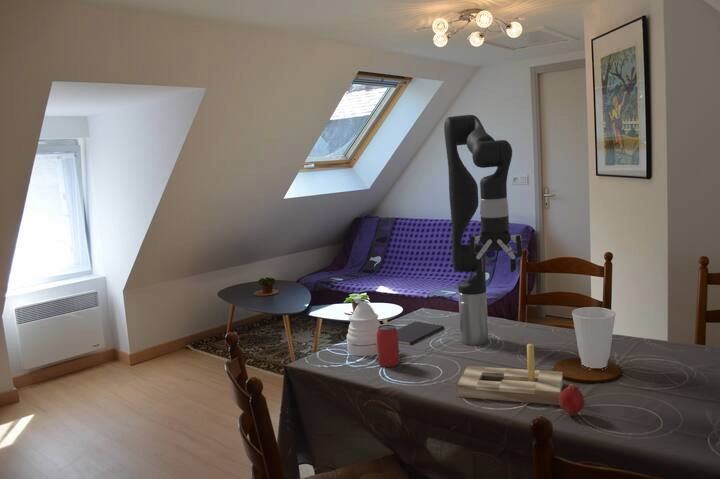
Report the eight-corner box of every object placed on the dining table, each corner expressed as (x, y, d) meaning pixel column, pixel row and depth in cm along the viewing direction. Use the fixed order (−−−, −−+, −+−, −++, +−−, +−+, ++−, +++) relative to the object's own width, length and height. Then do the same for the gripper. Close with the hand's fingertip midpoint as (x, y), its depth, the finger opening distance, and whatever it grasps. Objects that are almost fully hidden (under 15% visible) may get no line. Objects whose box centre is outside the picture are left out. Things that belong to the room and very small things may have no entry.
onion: (555, 411, 151) (554, 380, 150) (578, 409, 151) (577, 378, 150) (565, 421, 145) (564, 389, 144) (588, 419, 146) (588, 387, 145)
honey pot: (341, 355, 204) (337, 302, 201) (355, 342, 216) (351, 292, 213) (378, 357, 199) (374, 303, 197) (390, 344, 211) (386, 293, 209)
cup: (622, 363, 179) (622, 310, 177) (606, 376, 171) (606, 320, 168) (582, 356, 187) (581, 305, 185) (565, 367, 179) (564, 314, 176)
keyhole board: (467, 377, 177) (467, 366, 176) (562, 383, 167) (562, 371, 167) (457, 396, 164) (457, 384, 163) (560, 404, 155) (559, 392, 154)
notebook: (410, 346, 209) (444, 329, 225) (410, 342, 209) (443, 325, 225) (381, 341, 217) (415, 325, 233) (380, 336, 217) (415, 321, 233)
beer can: (398, 367, 188) (395, 330, 187) (377, 367, 190) (374, 330, 188) (400, 360, 195) (398, 323, 193) (380, 360, 196) (378, 324, 194)
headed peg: (524, 388, 166) (523, 342, 164) (540, 389, 165) (539, 342, 163) (522, 394, 162) (521, 347, 161) (539, 395, 161) (537, 348, 159)
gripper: (522, 211, 169) (524, 268, 172) (470, 212, 174) (473, 268, 177) (519, 215, 162) (521, 275, 165) (466, 217, 167) (468, 274, 170)
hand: (496, 271), depth 171 cm, fingers open, 8 cm apart
